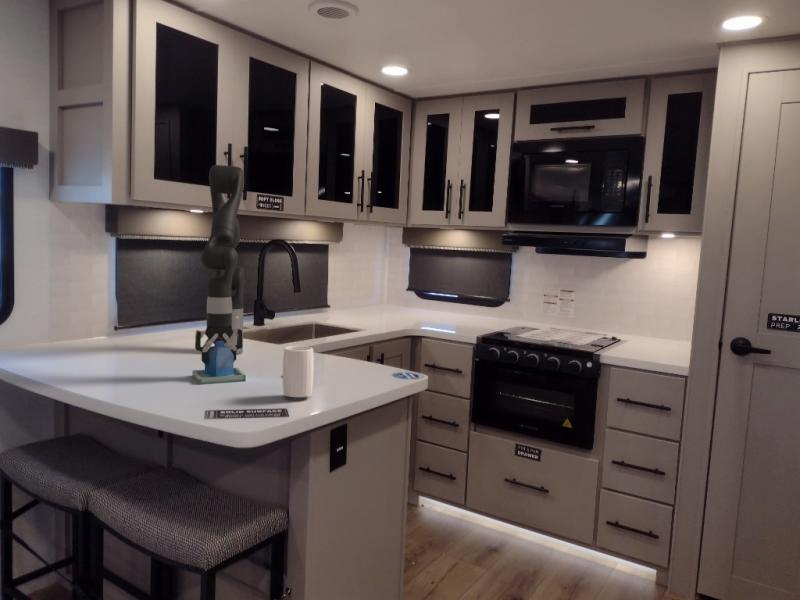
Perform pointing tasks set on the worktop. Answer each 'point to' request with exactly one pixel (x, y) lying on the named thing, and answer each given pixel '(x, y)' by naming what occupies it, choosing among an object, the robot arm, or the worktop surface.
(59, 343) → the worktop surface
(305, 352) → the cup
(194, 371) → the tray
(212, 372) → the perfume bottle
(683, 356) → the worktop surface
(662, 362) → the worktop surface
